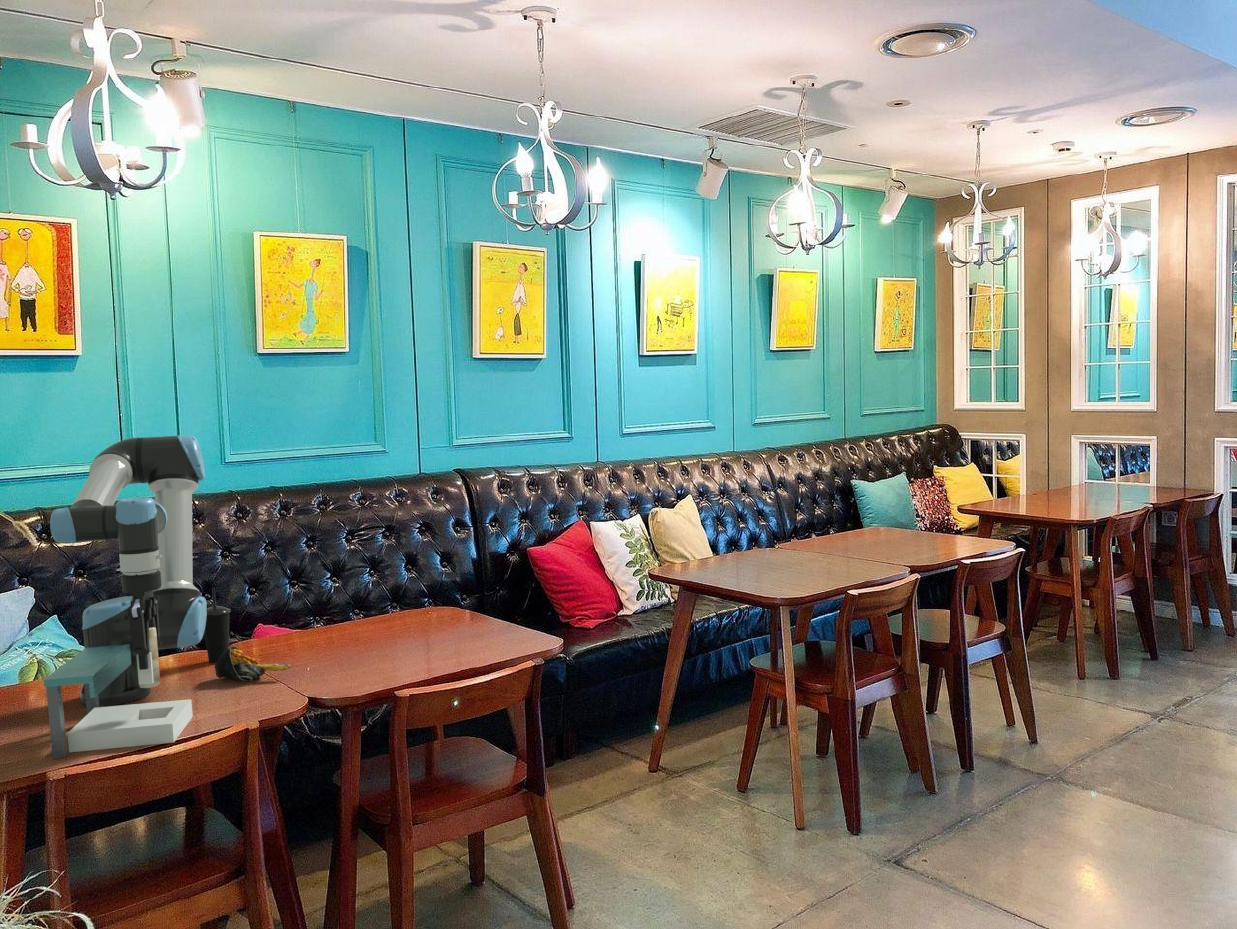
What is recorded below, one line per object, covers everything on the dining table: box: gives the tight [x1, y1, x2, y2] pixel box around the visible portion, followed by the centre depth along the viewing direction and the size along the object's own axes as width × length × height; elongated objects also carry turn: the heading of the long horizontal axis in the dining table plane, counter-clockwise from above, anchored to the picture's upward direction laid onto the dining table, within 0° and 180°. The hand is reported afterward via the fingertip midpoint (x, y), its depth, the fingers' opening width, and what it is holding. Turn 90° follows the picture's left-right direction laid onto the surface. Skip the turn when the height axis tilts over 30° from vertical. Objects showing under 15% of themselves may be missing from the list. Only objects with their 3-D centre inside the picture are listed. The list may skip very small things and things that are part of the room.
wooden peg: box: [139, 627, 161, 689], centre depth 208 cm, size 4×4×12 cm
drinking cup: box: [203, 587, 231, 664], centre depth 262 cm, size 8×8×20 cm
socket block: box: [66, 698, 194, 753], centre depth 209 cm, size 16×20×4 cm
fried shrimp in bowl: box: [214, 644, 292, 682], centre depth 246 cm, size 9×11×18 cm
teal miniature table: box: [43, 644, 131, 760], centre depth 207 cm, size 24×9×16 cm, turn 10°
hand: (149, 680), depth 209 cm, fingers closed on wooden peg, 4 cm apart
